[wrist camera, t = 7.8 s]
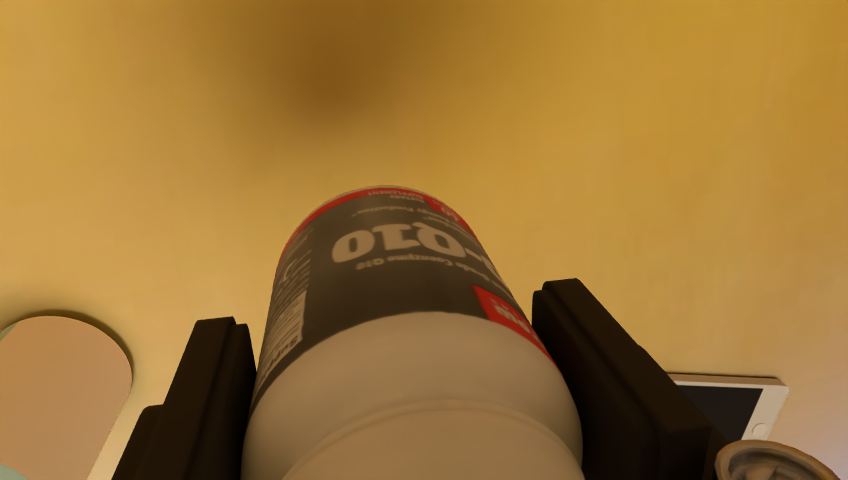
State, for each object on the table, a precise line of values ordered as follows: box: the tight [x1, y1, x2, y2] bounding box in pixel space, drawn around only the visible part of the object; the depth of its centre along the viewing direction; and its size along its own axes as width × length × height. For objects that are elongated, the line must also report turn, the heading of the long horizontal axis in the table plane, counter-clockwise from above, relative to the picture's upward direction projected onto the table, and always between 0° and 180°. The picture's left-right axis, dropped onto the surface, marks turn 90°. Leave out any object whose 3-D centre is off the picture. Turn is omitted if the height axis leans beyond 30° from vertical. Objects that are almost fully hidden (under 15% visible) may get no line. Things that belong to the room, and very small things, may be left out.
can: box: [0, 316, 132, 480], centre depth 26 cm, size 7×7×12 cm
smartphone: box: [667, 374, 789, 444], centre depth 39 cm, size 7×16×1 cm, turn 81°
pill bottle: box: [240, 185, 585, 480], centre depth 10 cm, size 5×5×8 cm
